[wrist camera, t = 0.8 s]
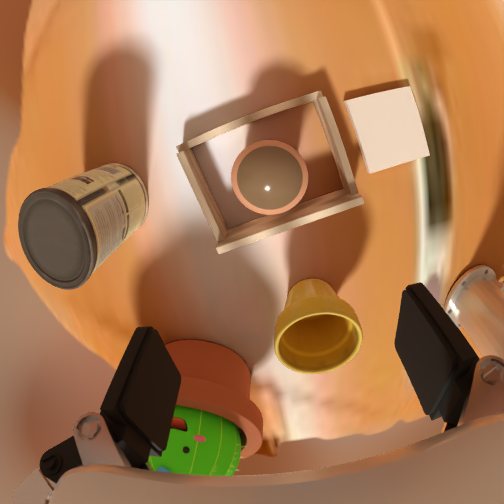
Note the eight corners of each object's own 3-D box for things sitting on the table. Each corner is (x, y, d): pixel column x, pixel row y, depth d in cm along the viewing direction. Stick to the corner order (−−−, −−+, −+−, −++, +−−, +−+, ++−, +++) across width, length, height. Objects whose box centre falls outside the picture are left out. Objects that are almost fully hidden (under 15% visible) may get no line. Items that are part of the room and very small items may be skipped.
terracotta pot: (285, 128, 29) (292, 129, 22) (306, 182, 32) (318, 200, 25) (230, 150, 31) (219, 157, 24) (252, 202, 33) (248, 225, 26)
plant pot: (281, 332, 42) (283, 381, 33) (265, 275, 38) (264, 322, 29) (347, 318, 40) (363, 364, 31) (341, 258, 36) (362, 301, 27)
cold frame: (316, 93, 27) (325, 87, 23) (351, 192, 32) (364, 203, 28) (182, 144, 31) (168, 148, 26) (224, 237, 35) (218, 254, 31)
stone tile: (406, 86, 26) (410, 86, 25) (425, 154, 29) (429, 155, 28) (343, 101, 27) (345, 100, 27) (367, 172, 31) (369, 173, 30)
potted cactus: (261, 408, 51) (257, 519, 28) (158, 397, 52) (127, 497, 29) (267, 330, 42) (263, 491, 19) (132, 320, 42) (66, 447, 20)
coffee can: (98, 241, 37) (40, 292, 24) (78, 173, 32) (7, 204, 20) (158, 230, 35) (108, 287, 23) (139, 153, 31) (71, 175, 18)
